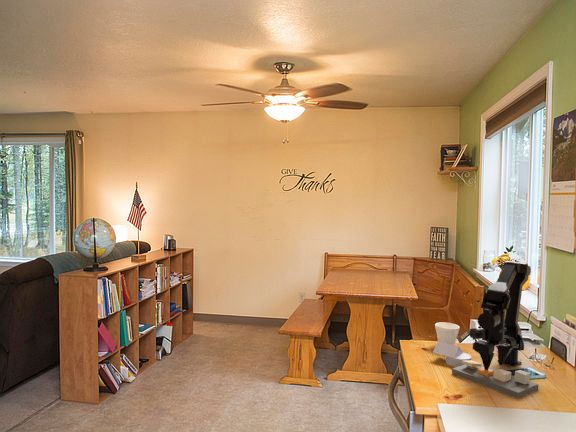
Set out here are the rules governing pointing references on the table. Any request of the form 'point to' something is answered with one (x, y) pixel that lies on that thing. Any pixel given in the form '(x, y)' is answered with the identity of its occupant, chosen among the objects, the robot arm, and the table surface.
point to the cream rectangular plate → (471, 363)
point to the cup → (447, 332)
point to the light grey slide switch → (522, 377)
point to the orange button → (485, 371)
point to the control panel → (495, 382)
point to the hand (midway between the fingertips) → (493, 367)
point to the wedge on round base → (451, 354)
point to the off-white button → (502, 375)
